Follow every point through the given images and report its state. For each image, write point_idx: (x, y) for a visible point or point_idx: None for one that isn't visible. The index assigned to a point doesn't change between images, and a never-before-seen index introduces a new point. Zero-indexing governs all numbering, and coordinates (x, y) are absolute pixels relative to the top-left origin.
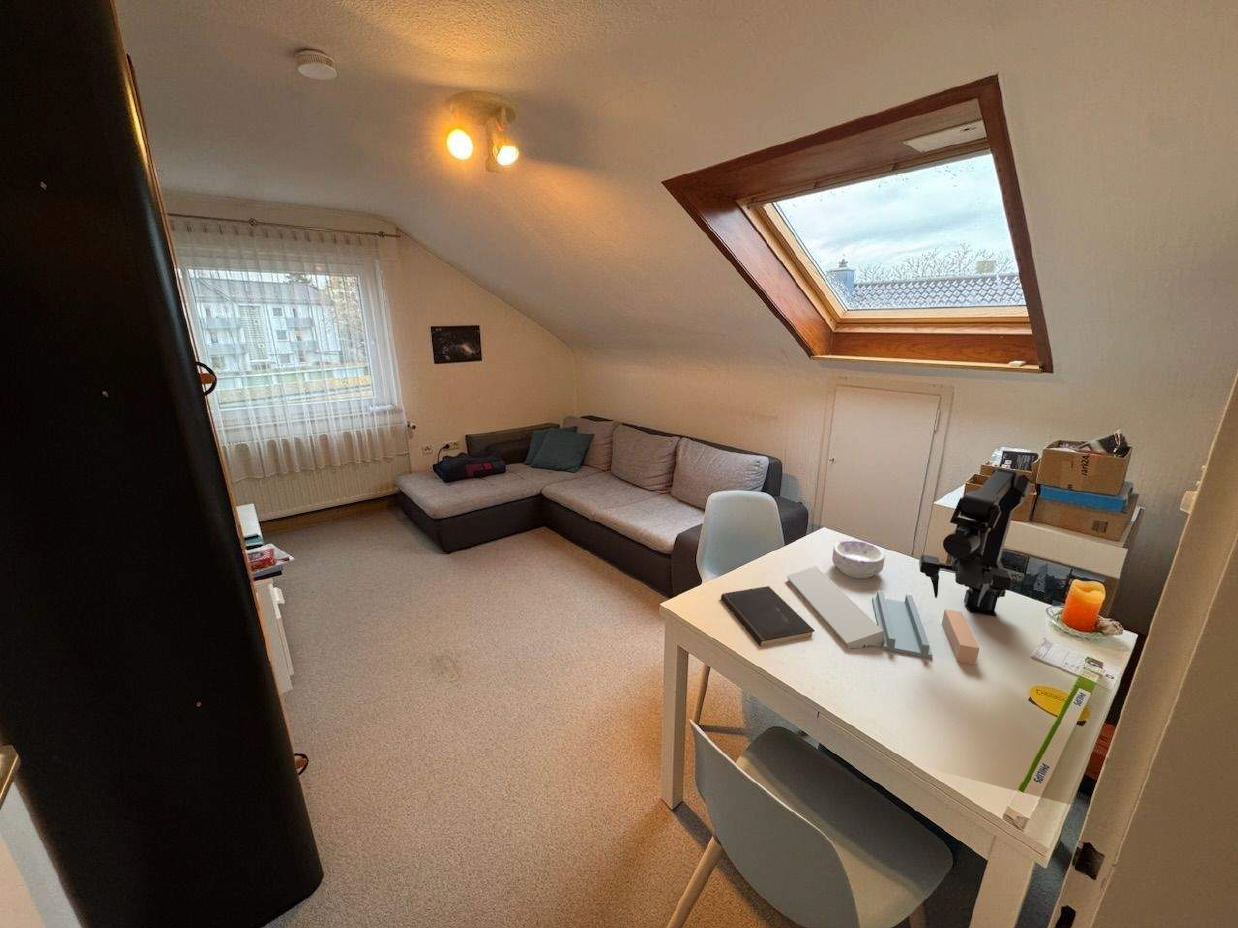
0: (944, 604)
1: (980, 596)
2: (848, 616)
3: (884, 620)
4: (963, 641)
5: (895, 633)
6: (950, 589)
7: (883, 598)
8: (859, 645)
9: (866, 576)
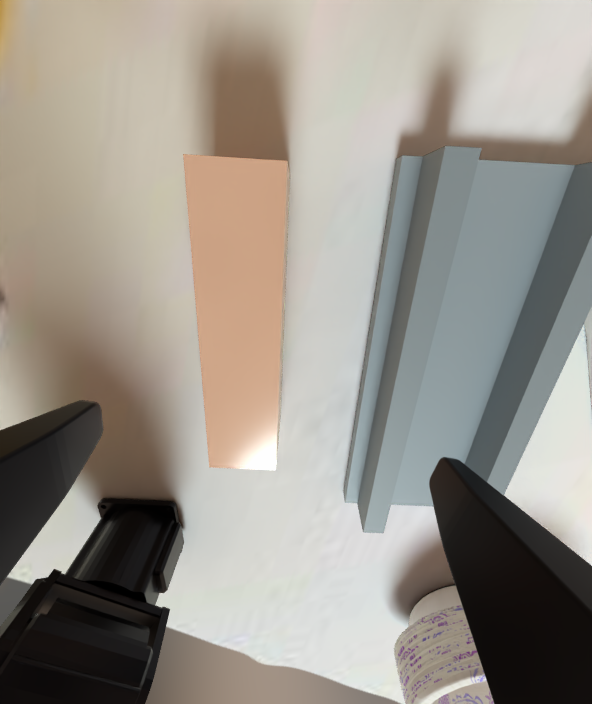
0: (243, 520)
1: (17, 520)
2: None
3: (571, 340)
4: (258, 207)
5: (505, 297)
6: (209, 584)
7: None
8: None
9: (450, 594)
